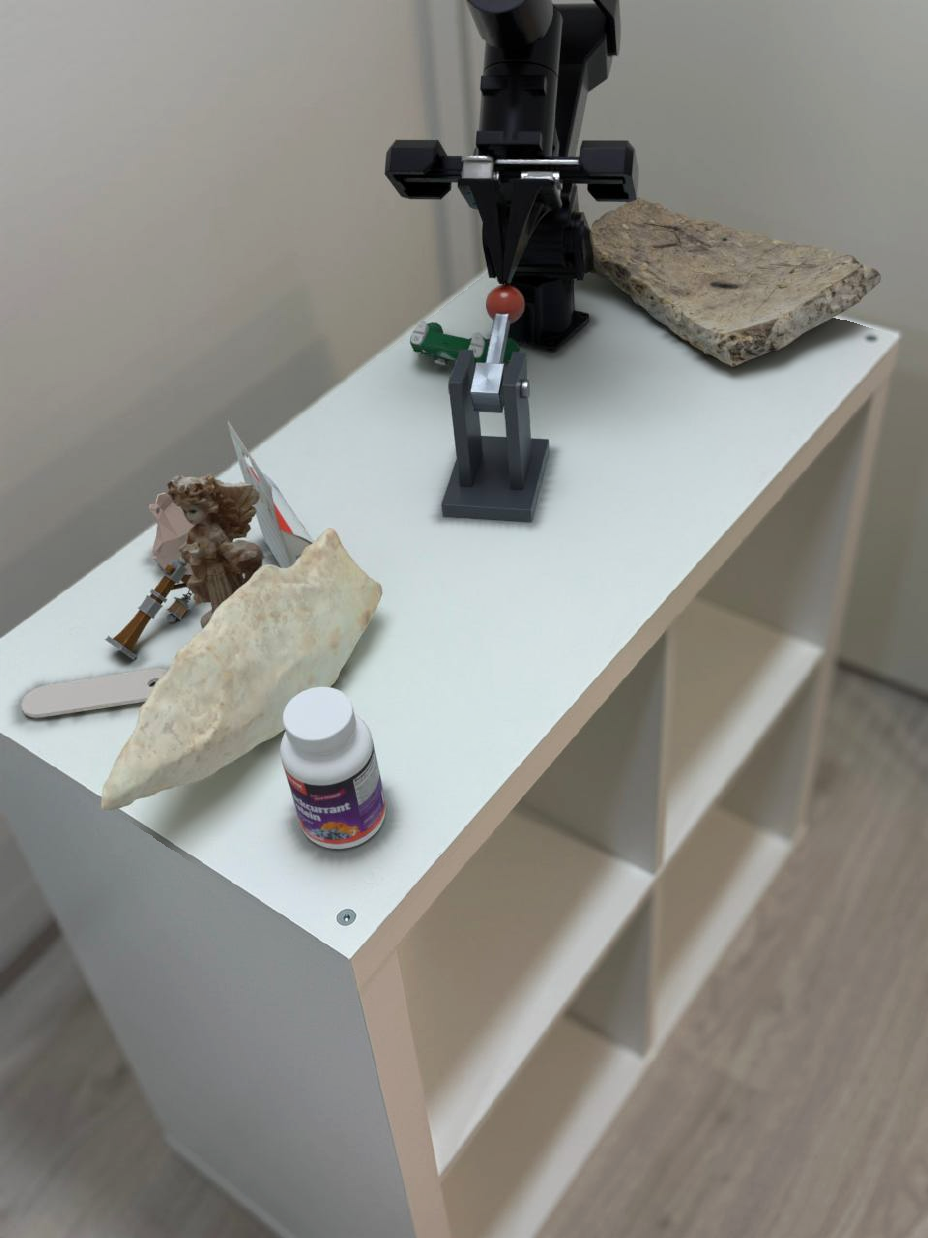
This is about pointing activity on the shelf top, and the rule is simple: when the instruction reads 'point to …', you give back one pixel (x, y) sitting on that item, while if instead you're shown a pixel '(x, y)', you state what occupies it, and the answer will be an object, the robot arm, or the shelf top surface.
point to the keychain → (90, 693)
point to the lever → (496, 349)
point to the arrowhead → (246, 670)
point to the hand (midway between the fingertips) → (503, 283)
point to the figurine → (216, 536)
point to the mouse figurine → (169, 531)
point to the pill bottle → (331, 769)
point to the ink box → (273, 511)
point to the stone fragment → (724, 279)
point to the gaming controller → (453, 344)
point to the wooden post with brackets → (155, 607)
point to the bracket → (494, 450)
